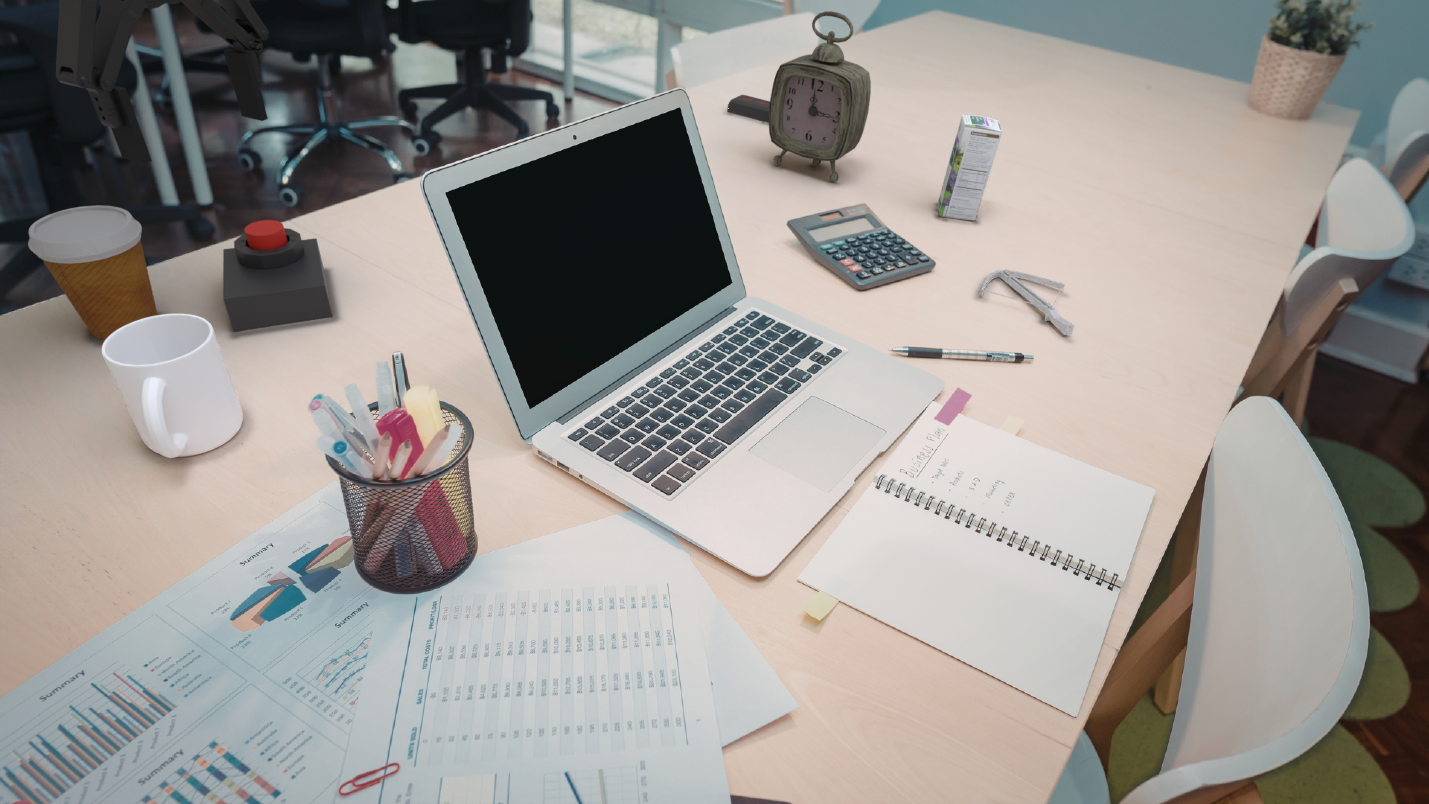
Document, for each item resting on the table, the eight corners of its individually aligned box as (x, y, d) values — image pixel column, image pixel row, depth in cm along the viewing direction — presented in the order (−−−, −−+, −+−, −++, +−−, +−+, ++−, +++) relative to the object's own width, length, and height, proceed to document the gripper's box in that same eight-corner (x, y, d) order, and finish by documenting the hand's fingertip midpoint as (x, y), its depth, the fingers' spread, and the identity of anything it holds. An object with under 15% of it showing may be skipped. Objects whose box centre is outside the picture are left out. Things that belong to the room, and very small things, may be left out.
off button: (248, 238, 94) (243, 222, 93) (286, 234, 96) (282, 218, 94) (249, 254, 91) (244, 237, 90) (288, 249, 93) (284, 232, 92)
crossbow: (958, 282, 112) (962, 269, 111) (1037, 277, 115) (1041, 264, 114) (1023, 339, 99) (1027, 324, 98) (1110, 331, 103) (1115, 317, 101)
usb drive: (739, 105, 164) (741, 91, 162) (792, 119, 160) (794, 105, 158) (727, 111, 160) (728, 97, 159) (780, 126, 156) (782, 111, 154)
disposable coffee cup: (148, 293, 94) (109, 195, 86) (193, 323, 89) (155, 223, 82) (56, 326, 87) (4, 223, 80) (98, 360, 83) (48, 255, 76)
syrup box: (936, 202, 132) (959, 112, 123) (973, 207, 132) (999, 117, 123) (938, 217, 127) (963, 125, 119) (976, 222, 127) (1004, 130, 118)
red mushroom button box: (233, 279, 97) (218, 233, 94) (323, 267, 101) (312, 222, 98) (234, 332, 89) (217, 284, 85) (332, 317, 93) (321, 270, 89)
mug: (230, 481, 71) (193, 387, 65) (122, 494, 69) (72, 398, 63) (252, 399, 80) (221, 309, 74) (156, 408, 78) (116, 317, 72)
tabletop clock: (762, 165, 139) (780, 7, 124) (786, 151, 146) (806, -1, 130) (838, 188, 134) (867, 25, 119) (860, 172, 140) (890, 16, 125)
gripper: (-7, -102, 56) (110, 189, 69) (272, -123, 75) (323, 109, 88) (-82, -115, 58) (46, 171, 71) (209, -132, 77) (268, 96, 90)
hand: (200, 137), depth 79 cm, fingers open, 13 cm apart
